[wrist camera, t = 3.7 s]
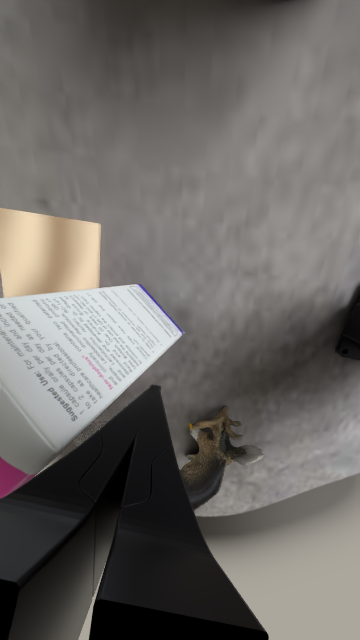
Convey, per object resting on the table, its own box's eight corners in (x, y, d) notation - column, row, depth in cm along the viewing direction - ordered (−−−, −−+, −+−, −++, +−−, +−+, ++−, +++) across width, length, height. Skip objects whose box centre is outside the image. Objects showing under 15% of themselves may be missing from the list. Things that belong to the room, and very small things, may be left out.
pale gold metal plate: (100, 224, 15) (98, 223, 15) (96, 372, 19) (94, 374, 19) (-3, 208, 16) (-8, 206, 15) (15, 355, 20) (11, 357, 19)
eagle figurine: (171, 395, 18) (147, 475, 19) (220, 460, 12) (182, 571, 13) (226, 392, 22) (204, 458, 23) (283, 440, 16) (250, 526, 17)
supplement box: (138, 280, 16) (-76, 297, 5) (186, 332, 15) (68, 464, 5) (103, 323, 18) (-99, 399, 7) (144, 369, 18) (0, 516, 7)
